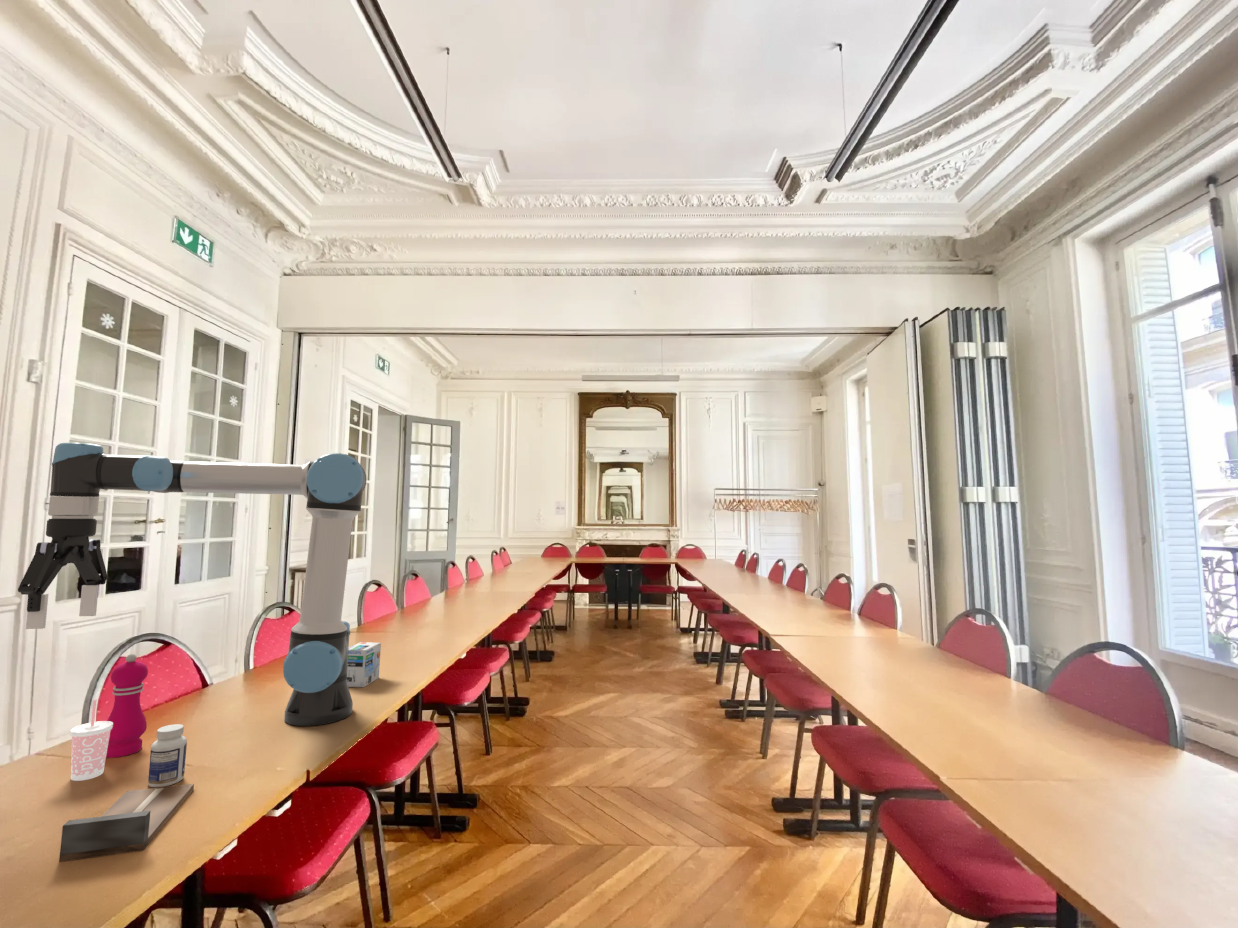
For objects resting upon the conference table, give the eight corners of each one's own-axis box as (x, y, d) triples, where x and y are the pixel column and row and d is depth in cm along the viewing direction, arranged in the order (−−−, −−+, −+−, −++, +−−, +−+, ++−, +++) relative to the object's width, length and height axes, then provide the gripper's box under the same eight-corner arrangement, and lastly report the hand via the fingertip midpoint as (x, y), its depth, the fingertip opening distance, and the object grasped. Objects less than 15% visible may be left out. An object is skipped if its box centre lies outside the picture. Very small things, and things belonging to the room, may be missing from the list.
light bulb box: (364, 688, 167) (366, 650, 168) (341, 687, 167) (343, 649, 168) (379, 677, 178) (381, 642, 178) (358, 677, 178) (360, 641, 179)
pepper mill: (118, 760, 116) (127, 659, 118) (89, 757, 117) (99, 656, 119) (153, 746, 123) (162, 651, 125) (126, 743, 124) (135, 649, 126)
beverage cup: (58, 785, 106) (66, 706, 107) (74, 771, 111) (81, 696, 112) (100, 779, 108) (108, 702, 109) (114, 766, 114) (121, 693, 115)
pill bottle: (163, 774, 110) (168, 722, 111) (190, 775, 110) (195, 723, 111) (139, 787, 105) (144, 732, 106) (168, 788, 105) (172, 733, 106)
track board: (193, 789, 105) (195, 760, 105) (142, 850, 86) (146, 815, 86) (126, 796, 102) (129, 767, 102) (59, 862, 83) (62, 825, 83)
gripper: (95, 516, 131) (87, 611, 129) (-2, 517, 106) (-15, 635, 104) (132, 517, 132) (125, 611, 130) (44, 518, 107) (33, 634, 106)
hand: (63, 622), depth 117 cm, fingers open, 13 cm apart
